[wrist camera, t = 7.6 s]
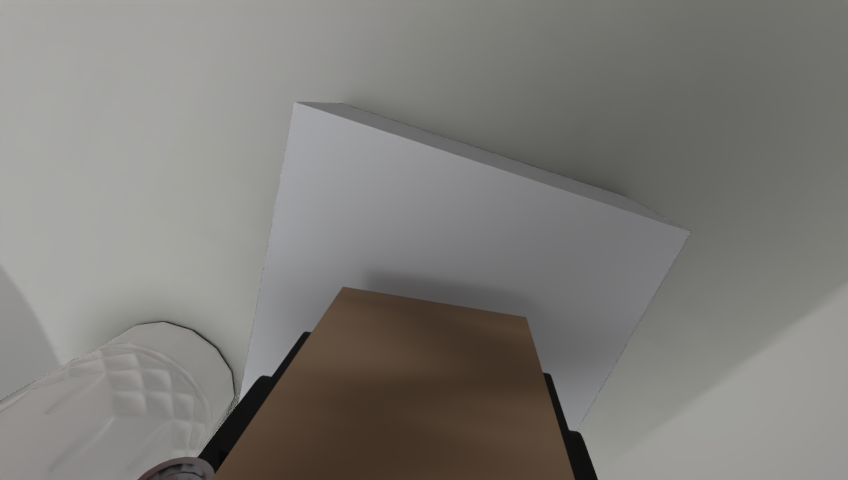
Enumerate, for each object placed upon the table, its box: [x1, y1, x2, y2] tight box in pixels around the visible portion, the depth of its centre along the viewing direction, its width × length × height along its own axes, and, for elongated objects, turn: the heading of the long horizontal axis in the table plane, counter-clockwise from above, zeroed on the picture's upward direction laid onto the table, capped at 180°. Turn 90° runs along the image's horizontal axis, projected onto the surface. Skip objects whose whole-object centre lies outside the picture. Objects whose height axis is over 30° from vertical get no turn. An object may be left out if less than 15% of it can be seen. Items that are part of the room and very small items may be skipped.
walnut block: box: [211, 287, 575, 480], centre depth 9 cm, size 5×5×6 cm
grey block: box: [239, 102, 691, 431], centre depth 16 cm, size 12×12×5 cm
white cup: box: [0, 322, 234, 480], centre depth 16 cm, size 8×8×10 cm
